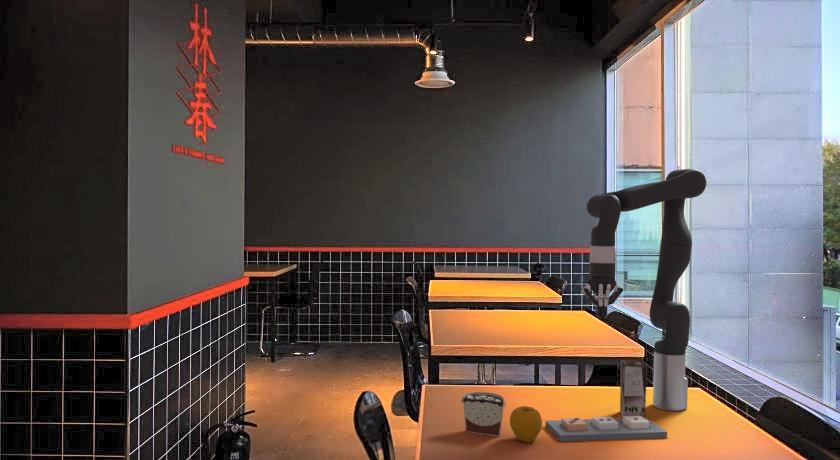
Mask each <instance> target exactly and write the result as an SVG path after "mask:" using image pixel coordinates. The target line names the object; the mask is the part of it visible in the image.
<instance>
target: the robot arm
mask: <svg viewBox="0 0 840 460" xmlns="http://www.w3.org/2000/svg"><path fill="white" fill-rule="evenodd" d="M706 178H707V177H706V176H705V174H704V172H702V171H701V170H699V169H696V168H683V169H675V170H672V171H670V172H669V173H668V174H667V176H666V177H665V180H661V181H656V182H648V183H642V184H637V185H633V186H630V187H627V188H623V189H620V190H616V191H610V192H605V193H599V194H596V195H593V196H592V197H590V198H589V200H588V201H587V204H586V210H587V213H588V214H589V216H591V217H593V218H595V219H599V220H598V224H597V225H596V226H593V227H592V229H591V232H590V251H589V275H588V276H589V279H588V281H587V284H586V285H585V286H582V287H581V288H580V290H581V293H583V294H584V296H585V298H586V299H587V300H588V302H589V303H590V304H592V305H595V306H596V310H595V312H596V313H595V315H596V317H597V318H598V319H600V320H605V319H606V318H607V317H608V306H610V305H613V304H614V303H615V302H616V301H617V300H618V298H619V297H620V295H621V294H622V293H623V292H624V288H623V287H620V286H619V285H617V281H616V267H617V266H616V264H617V262H616V261H617V251H616V231H617V229H618V225H619V222H620V217H621V212H622V213H623V212H624V213H625V212H626V213H627V212H632V211H635V210H639V209H641V208H642V209H643V208H646V207H649V206H653V205H655V204H659V203H662V202H663V220H662V231H661V240H660V246H659V256H658V265H657V271H656V279H655V284H654V289H653V294H652V299H651V303H650V305H649V306H650V307H649V320H650V323H651V325H652V326H653V327H654V328H656V329H659V330H664V338H662V339H661V340H658V341H657V340H656V341H655V342H654V345H653V347H654V348H653V383H652V384H653V387H652V389H653V392H652V405H653V407H654V408H657V409H659V410H664V411H672V412H675V411H676V412H677V411H683V410H688V394H689V393H688V392H689V391H688V390H689V387H688V386H689V379H688V378H687V377H686V353H687V352H686V351H687V348H688V345H689V340H690V339H689V338H690V327H691V314H690V311H689V307H687V305H685V304H683V303H680V302H676V301H674V293H675V289H676V286H677V283H678V282H679V280H680V279H681V277H682V276H683V274H684V273H685V272H686V270H687V268H688V266H689V264H690V262H691V258H692V257H691V256H692V247H693V239H692V235H691V232H690V229H689V227H688V223H687V222H686V217H685V205H686V199H692V198H693V199H694V198H697V197H699V196H701V195H702V194H703V193H704V191H705V190H706V187H707V179H706ZM612 291H613V292H612ZM591 292H593V294H594V296H593V294H592V293H591Z"/></svg>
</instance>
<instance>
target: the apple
mask: <svg viewBox="0 0 840 460" xmlns="http://www.w3.org/2000/svg"><path fill="white" fill-rule="evenodd" d="M509 425H510V428H511V431H512V432H513V434H514V435H515V437H516V438H517V439H518V440H519V441H520V442H524V443H532V442H534V441H535V440H536V438H537V437H538V436H539V434H540V433H541V430H542V428H543V420H542V415H541V414H540V412H539V410H537V409H536V408H534V407H532V406H531V407H530V406H529V405H528V406H526V405H522V406H518V407H516V408H514V409H513V410H512V412H511V414H510V416H509Z"/></svg>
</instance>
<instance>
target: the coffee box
mask: <svg viewBox="0 0 840 460" xmlns="http://www.w3.org/2000/svg"><path fill="white" fill-rule="evenodd" d="M647 367H648V366H646V364H645V363H644V362H643V360H636V359H635V360H633V359H632V360H631V359H630V360H629V359H628V360H627V359H626V360H625V359H620V384H619V385H620V387H619V388H620V390H619V394H620V397H619V398H620V399H619V400H620V401H619V406H620V407H619V412H620V414H621V417H622V418H623V416H641V417H643V418H646V408H647V407H646V404H647V403H646V402H647V401H646V400H647V399H646V398H647V371H648V370H647Z"/></svg>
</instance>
